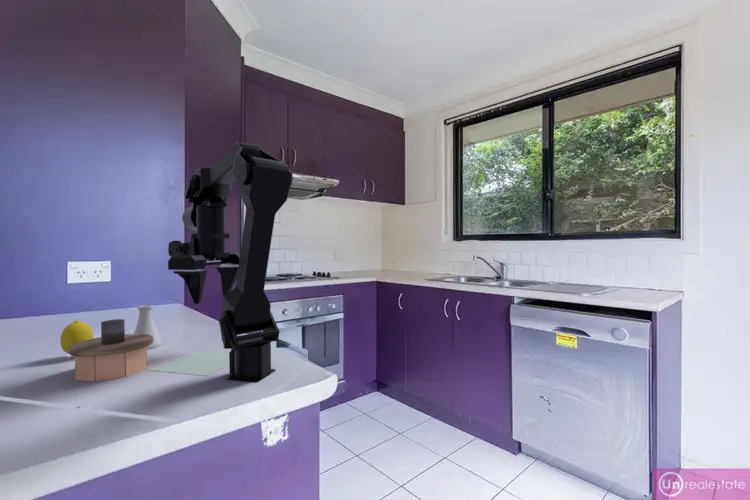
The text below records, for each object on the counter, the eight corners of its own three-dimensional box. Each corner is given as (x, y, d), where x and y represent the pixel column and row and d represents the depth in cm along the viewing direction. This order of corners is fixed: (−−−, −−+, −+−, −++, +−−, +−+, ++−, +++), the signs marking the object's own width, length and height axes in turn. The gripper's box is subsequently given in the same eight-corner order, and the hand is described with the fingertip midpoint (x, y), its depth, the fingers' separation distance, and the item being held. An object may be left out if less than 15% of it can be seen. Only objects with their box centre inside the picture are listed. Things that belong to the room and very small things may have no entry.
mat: (248, 357, 79) (248, 354, 79) (206, 378, 66) (206, 375, 66) (197, 352, 82) (197, 350, 82) (148, 372, 70) (148, 370, 70)
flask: (170, 346, 88) (169, 305, 87) (137, 354, 81) (136, 309, 81) (154, 342, 91) (153, 302, 91) (121, 350, 85) (120, 307, 85)
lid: (168, 339, 75) (168, 316, 74) (107, 359, 62) (107, 330, 62) (117, 336, 78) (117, 313, 78) (49, 354, 65) (49, 327, 65)
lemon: (75, 361, 77) (74, 323, 77) (53, 360, 78) (53, 322, 78) (99, 354, 82) (99, 318, 82) (79, 352, 83) (79, 317, 83)
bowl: (160, 365, 74) (159, 340, 74) (109, 385, 63) (108, 356, 63) (117, 361, 76) (116, 337, 76) (61, 380, 66) (61, 352, 66)
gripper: (208, 231, 91) (209, 293, 92) (144, 228, 73) (145, 306, 73) (248, 230, 89) (249, 295, 89) (191, 227, 70) (193, 308, 71)
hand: (212, 300), depth 81 cm, fingers open, 9 cm apart
